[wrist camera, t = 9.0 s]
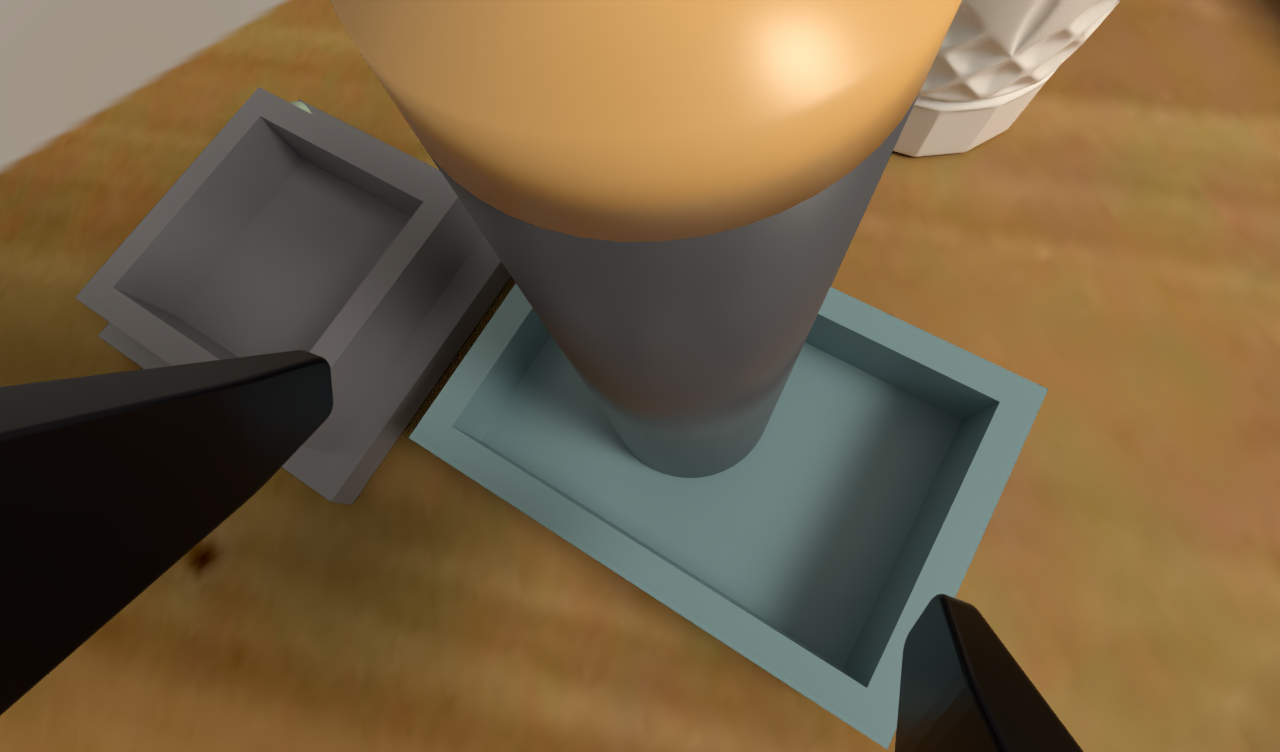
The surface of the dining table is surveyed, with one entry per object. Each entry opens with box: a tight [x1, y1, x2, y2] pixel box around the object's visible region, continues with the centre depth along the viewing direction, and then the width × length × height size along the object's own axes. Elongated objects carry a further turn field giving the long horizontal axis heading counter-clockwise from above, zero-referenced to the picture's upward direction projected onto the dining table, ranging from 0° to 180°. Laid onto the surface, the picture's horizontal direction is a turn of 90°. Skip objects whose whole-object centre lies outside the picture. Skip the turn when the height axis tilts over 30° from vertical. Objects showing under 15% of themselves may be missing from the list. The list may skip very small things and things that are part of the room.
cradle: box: [75, 87, 511, 505], centre depth 17 cm, size 10×10×3 cm
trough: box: [409, 284, 1048, 749], centre depth 15 cm, size 9×13×3 cm
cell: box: [330, 0, 962, 478], centre depth 10 cm, size 4×4×14 cm
